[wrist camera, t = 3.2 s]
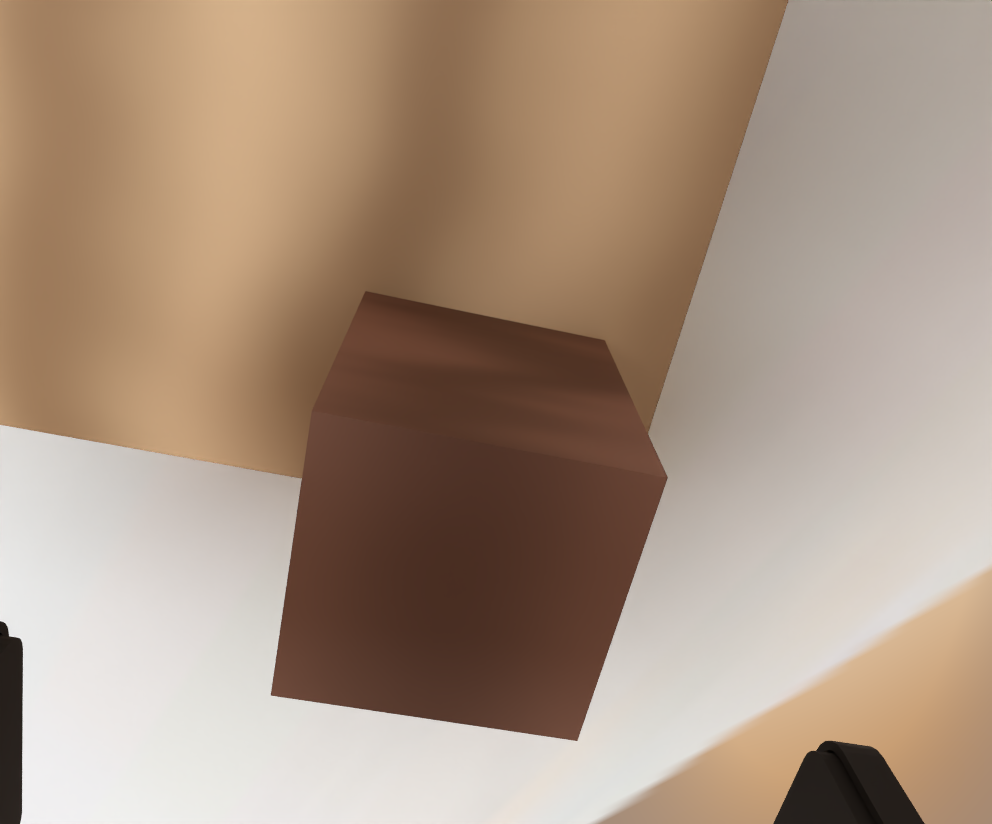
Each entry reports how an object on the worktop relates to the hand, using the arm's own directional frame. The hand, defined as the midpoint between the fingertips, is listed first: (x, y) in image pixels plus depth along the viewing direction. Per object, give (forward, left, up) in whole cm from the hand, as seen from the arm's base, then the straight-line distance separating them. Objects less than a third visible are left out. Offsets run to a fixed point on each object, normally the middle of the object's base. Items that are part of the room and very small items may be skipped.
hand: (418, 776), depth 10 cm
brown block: (0, 0, -10) cm, 10 cm away
